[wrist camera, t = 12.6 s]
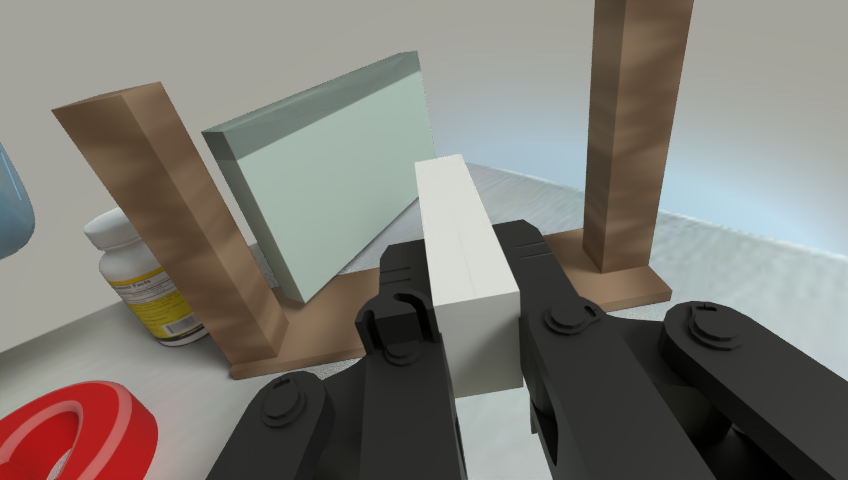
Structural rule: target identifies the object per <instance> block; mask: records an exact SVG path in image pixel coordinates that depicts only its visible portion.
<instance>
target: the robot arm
mask: <svg viewBox="0 0 848 480" xmlns="http://www.w3.org/2000/svg"><path fill="white" fill-rule="evenodd" d="M415 171H416V179H417V186H418V194H419V201H420V209H421V216H422V224H423V232H424V239H421V240H415V241H410V242H404V243H399V244H393V245H388V247H387V249H386V250H385V252H384V253H383V255H382V256H381V258H380V275H379V294H378V295H376V296H375V297H373V298H371V299H370V300H368V301H367V302H366V303H365V304H364V305H363V307H362V308H361V309H360V310H359V311H358V314H357V316H356V319H355V322H354V323H355V326H356V329H357V331H358V334H359V336H360V339H361V341H362V344H363V346H364V349H365V352H366V355H365V356H364V357H363V358H362V359H360V360H359V361H358V362H357V363H356V364H354V365H352V366H350V367H349V368H347V369H345V370H343V371H341V372H339V373H337V374H334V375H332V376H330V377H328V378H326V379H324V380H322V381H321V380H320V379H319V378H318V377H317V376H316V375H315V374H313V373H309V372H305V371H297V372H290V373H287V374H284V375H282V376H280V377H278V378H276V379H273V380H272V381H271V382H270V383H268V384H267V385H266V386H264V387H263V388H262V389H261V390H260V391H259V392H258V393H257V395H256V396H255V397H254V398H253V400H252V401H251V402H250V404H249V405H248V407H247V409H246V410H245V412H244V414H243V416H242V417H241V419H240V421H239V423H238V424H237V426H236V428H235V429H234V431H233V433H232V435H231V436H230V438H229V440H228V442H227V443H226V445H225V447H224V448H223V450H222V452H221V454H220V455H219V457H218V459H217V461H216V462H215V464H214V466H213V467H212V469H211V471H210V473H209V474H208V476H207V478H206V480H468V477H467V470H466V464H465V458H464V451H463V445H462V439H461V432H460V426H459V421H458V417H457V412H456V406H455V398H461V397H467V396H473V395H479V394H485V393H491V392H497V391H503V390H508V389H514V388H520V387H523V376H524V379H525V382H526V385H527V388H528V390H529V393H530V423H531V432H532V434H535V433H537V432H538V435H539V438H540V441H541V444H542V448H543V451H544V454H545V457H546V460H547V463H548V466H549V469H550V472H551V475H552V478H553V480H848V381H846V380H845V379H843V378H842V377H840V376H838V375H837V374H835V373H834V372H832V371H831V370H829V369H828V368H826V367H825V366H823V365H822V364H820V363H819V362H817V361H815V360H814V359H812V358H811V357H809V356H808V355H806V354H805V353H803V352H802V351H800V350H799V349H797V348H796V347H794V346H793V345H791V344H789V343H788V342H786V341H785V340H783V339H782V338H780V337H779V336H777V335H776V334H774V333H773V332H771V331H770V330H768V329H766V328H765V327H763V326H762V325H760V324H759V323H757V322H756V321H754V320H753V319H751V318H750V317H748V316H746V315H744V314H742V313H740V312H738V311H736V310H734V309H732V308H730V307H727V306H723V305H719V304H716V303H712V302H701V301H690V302H685V303H680V304H677V305H675V306H674V307H672V308H671V309H669V310H668V311H667V313H666V316H665V318H664V321H649V320H636V319H626V318H619V317H614V316H611V315H608V314H606V313H605V312H604V311H603V310H602V309H601V308H600V307H599V306H598V305H597V304H596V303H594V302H592V301H590V300H588V299H586V298H584V297H581V296H579V295H578V293H577V291H576V290H575V288H574V287H573V285H572V283H571V282H570V280H569V278H568V277H567V275H566V274H565V272H564V270H563V269H562V267H561V265H560V264H559V262H558V261H557V259H556V257H555V256H554V254H552V251H551V249H550V248H549V246H548V244H547V243H546V242H545V240H544V238H543V236H542V235H541V233H540V232H539V230H538V228H536V227H534V226H533V225H531V224H530V223H528V222H526V221H525V220H523V219H522V220H517V221H511V222H506V223H500V224H495V225H491V223H490V221H489V218H488V216H487V214H486V211H485V209H484V207H483V204H482V202H481V200H480V197H479V195H478V193H477V190H476V188H475V186H474V183H473V181H472V179H471V176H470V174H469V172H468V169H467V167H466V165H465V162H464V160H463V158H462V155H461V154H457V155H452V156H447V157H442V158H436V159H431V160H426V161H420V162H415ZM34 229H35V216H34V212H33V208H32V205H31V202H30V199H29V197H28V194H27V192H26V190H25V187H24V185H23V183H22V181H21V179H20V177H19V175H18V173H17V171H16V169H15V168H14V166H13V164H12V162H11V160H10V159H9V157H8V155H7V153H6V151H5V150H4V148H3V146H2V144H1V143H0V260H1V259H3V258H6V257H8V256H10V255H12V254H14V253H16V252H17V251H18V250H19V249H21V248H22V247H23V246H25V245H26V244H27V243H28V241H29V239H30V238H31V236H32V234H33V232H34Z"/></svg>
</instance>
